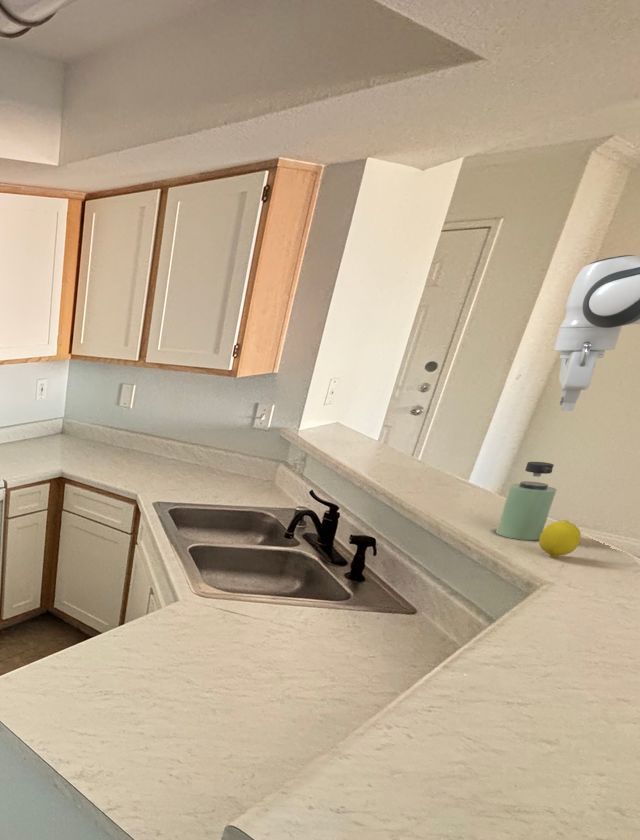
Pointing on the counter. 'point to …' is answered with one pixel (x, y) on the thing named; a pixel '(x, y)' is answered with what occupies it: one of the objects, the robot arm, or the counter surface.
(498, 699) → the counter surface
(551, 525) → the lemon
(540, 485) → the soap bottle
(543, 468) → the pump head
